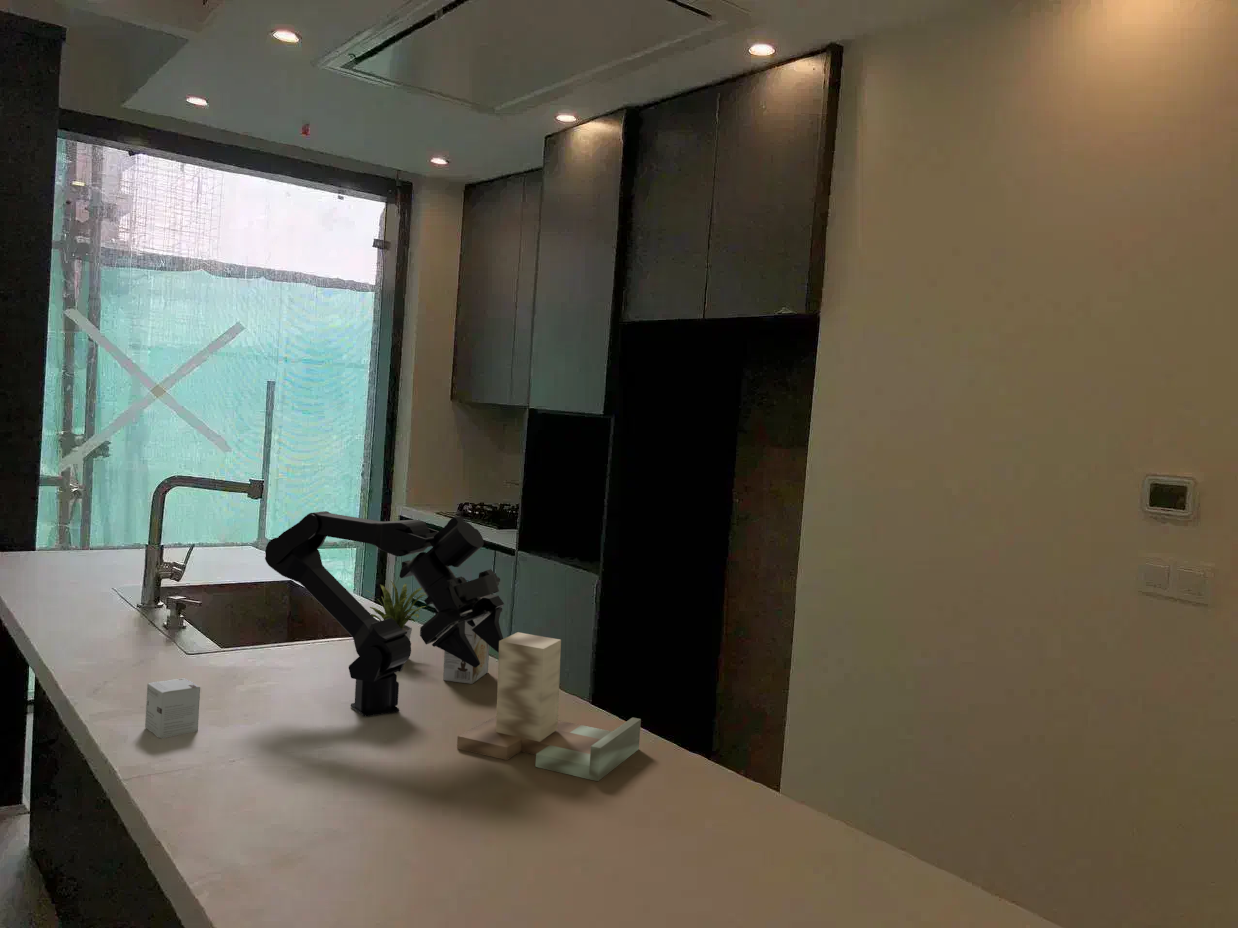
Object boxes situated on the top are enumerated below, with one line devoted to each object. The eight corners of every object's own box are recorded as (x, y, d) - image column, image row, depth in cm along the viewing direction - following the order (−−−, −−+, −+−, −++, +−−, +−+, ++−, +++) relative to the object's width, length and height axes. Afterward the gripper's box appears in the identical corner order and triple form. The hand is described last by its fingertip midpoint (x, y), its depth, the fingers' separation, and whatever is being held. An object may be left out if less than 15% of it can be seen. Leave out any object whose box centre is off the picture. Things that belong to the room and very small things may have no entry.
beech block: (495, 731, 157) (499, 640, 155) (514, 720, 162) (517, 632, 161) (539, 741, 154) (543, 648, 152) (557, 729, 159) (561, 639, 158)
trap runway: (457, 748, 154) (458, 717, 154) (507, 721, 169) (509, 692, 168) (597, 781, 144) (600, 748, 144) (638, 749, 159) (640, 719, 159)
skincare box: (144, 728, 154) (146, 682, 153) (183, 721, 158) (184, 676, 158) (159, 739, 150) (161, 692, 149) (199, 731, 154) (201, 685, 154)
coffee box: (458, 668, 199) (463, 590, 198) (488, 672, 198) (493, 594, 197) (441, 680, 190) (446, 599, 189) (473, 684, 189) (477, 602, 188)
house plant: (446, 654, 209) (450, 579, 208) (412, 669, 196) (416, 589, 195) (388, 645, 214) (392, 571, 213) (351, 659, 201) (355, 581, 200)
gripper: (442, 562, 153) (498, 643, 150) (498, 548, 171) (550, 621, 168) (395, 603, 157) (449, 683, 154) (455, 586, 174) (505, 658, 171)
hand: (491, 659), depth 161 cm, fingers open, 9 cm apart
